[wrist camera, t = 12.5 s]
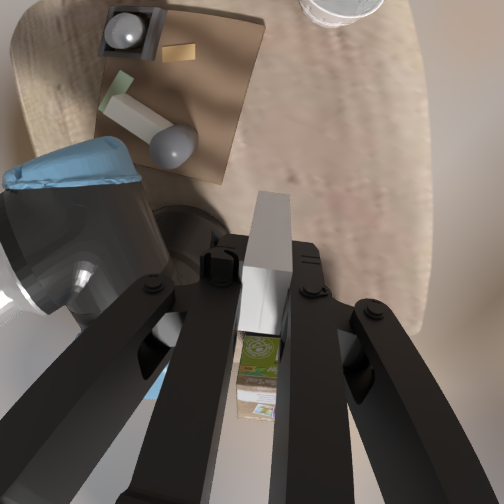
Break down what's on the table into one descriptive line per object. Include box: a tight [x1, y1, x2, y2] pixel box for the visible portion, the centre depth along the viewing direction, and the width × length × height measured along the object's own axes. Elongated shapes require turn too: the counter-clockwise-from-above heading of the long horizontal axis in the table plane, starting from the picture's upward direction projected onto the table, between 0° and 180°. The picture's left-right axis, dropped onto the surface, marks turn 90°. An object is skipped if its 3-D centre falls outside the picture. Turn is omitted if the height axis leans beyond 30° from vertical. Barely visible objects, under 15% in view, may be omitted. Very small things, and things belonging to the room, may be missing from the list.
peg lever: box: [103, 94, 198, 169], centre depth 33 cm, size 12×4×5 cm, turn 53°
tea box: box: [236, 331, 281, 422], centre depth 47 cm, size 15×10×15 cm, turn 89°
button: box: [105, 13, 149, 49], centre depth 28 cm, size 4×4×3 cm
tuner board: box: [94, 6, 266, 185], centre depth 33 cm, size 20×18×4 cm
